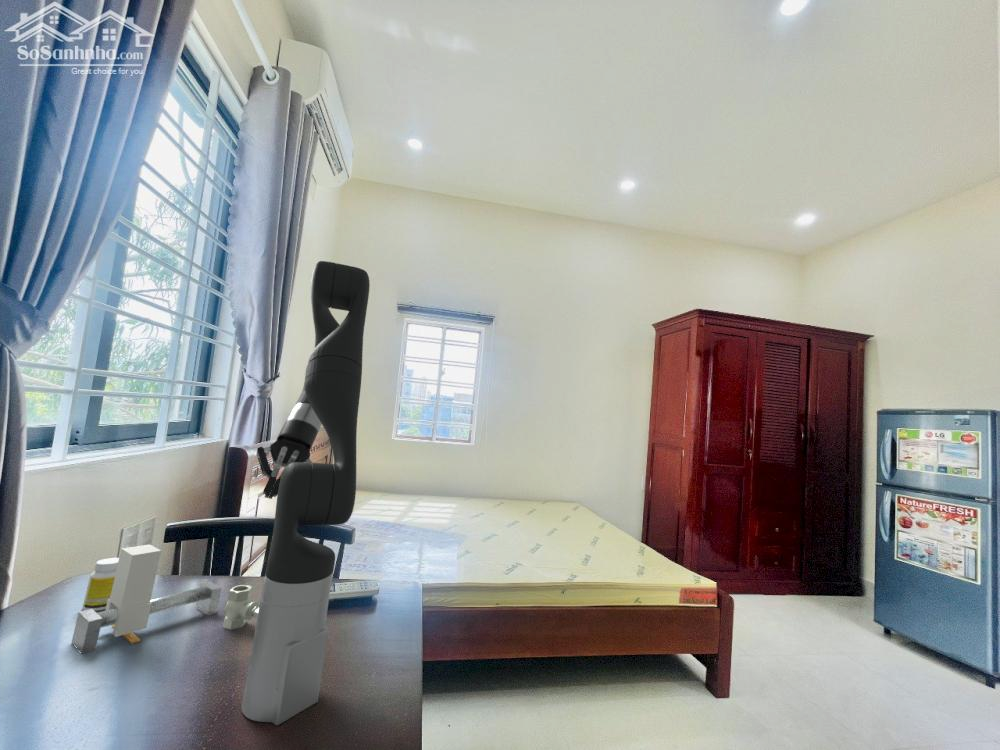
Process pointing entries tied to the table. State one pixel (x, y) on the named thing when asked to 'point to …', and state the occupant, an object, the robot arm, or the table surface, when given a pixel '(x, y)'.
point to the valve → (240, 607)
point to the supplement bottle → (100, 584)
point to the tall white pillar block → (133, 588)
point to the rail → (93, 621)
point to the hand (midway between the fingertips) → (268, 497)
